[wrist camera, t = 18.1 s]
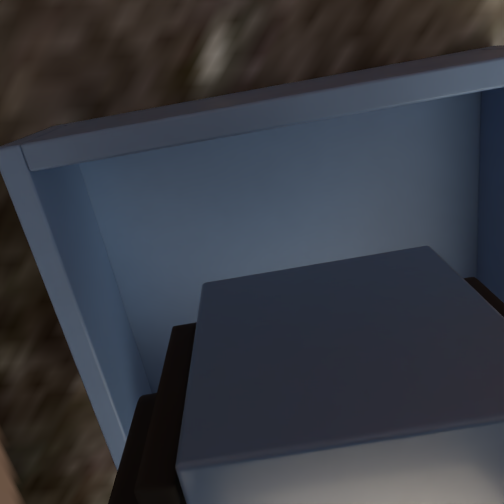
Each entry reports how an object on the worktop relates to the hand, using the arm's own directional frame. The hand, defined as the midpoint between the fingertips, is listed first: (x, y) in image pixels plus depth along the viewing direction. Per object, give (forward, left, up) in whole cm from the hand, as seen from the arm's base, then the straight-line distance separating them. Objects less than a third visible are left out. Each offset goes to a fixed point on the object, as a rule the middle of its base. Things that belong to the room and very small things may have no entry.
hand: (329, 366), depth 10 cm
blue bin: (0, 0, -5) cm, 5 cm away
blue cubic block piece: (0, 0, 0) cm, 0 cm away
